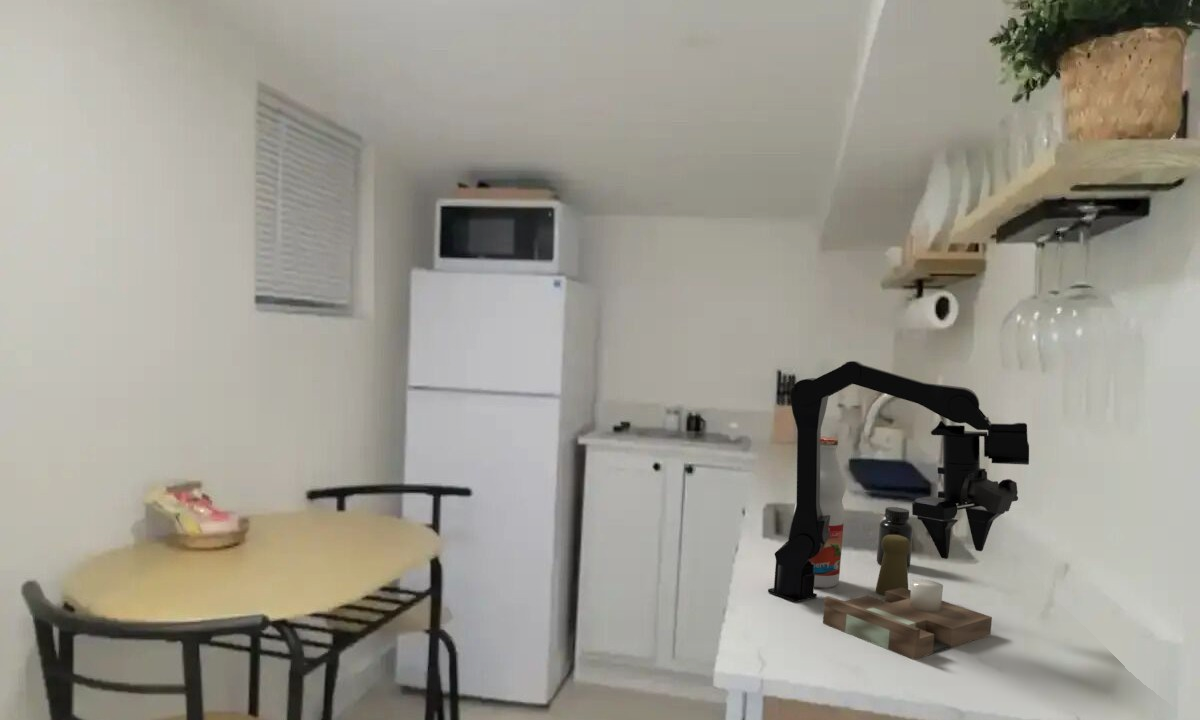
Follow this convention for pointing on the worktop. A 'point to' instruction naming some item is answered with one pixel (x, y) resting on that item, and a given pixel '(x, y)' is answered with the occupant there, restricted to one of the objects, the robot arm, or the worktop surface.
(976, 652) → the worktop surface
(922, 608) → the white short cylinder
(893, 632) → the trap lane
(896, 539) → the cork
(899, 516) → the supplement bottle
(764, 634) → the worktop surface
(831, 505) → the fruit juice
